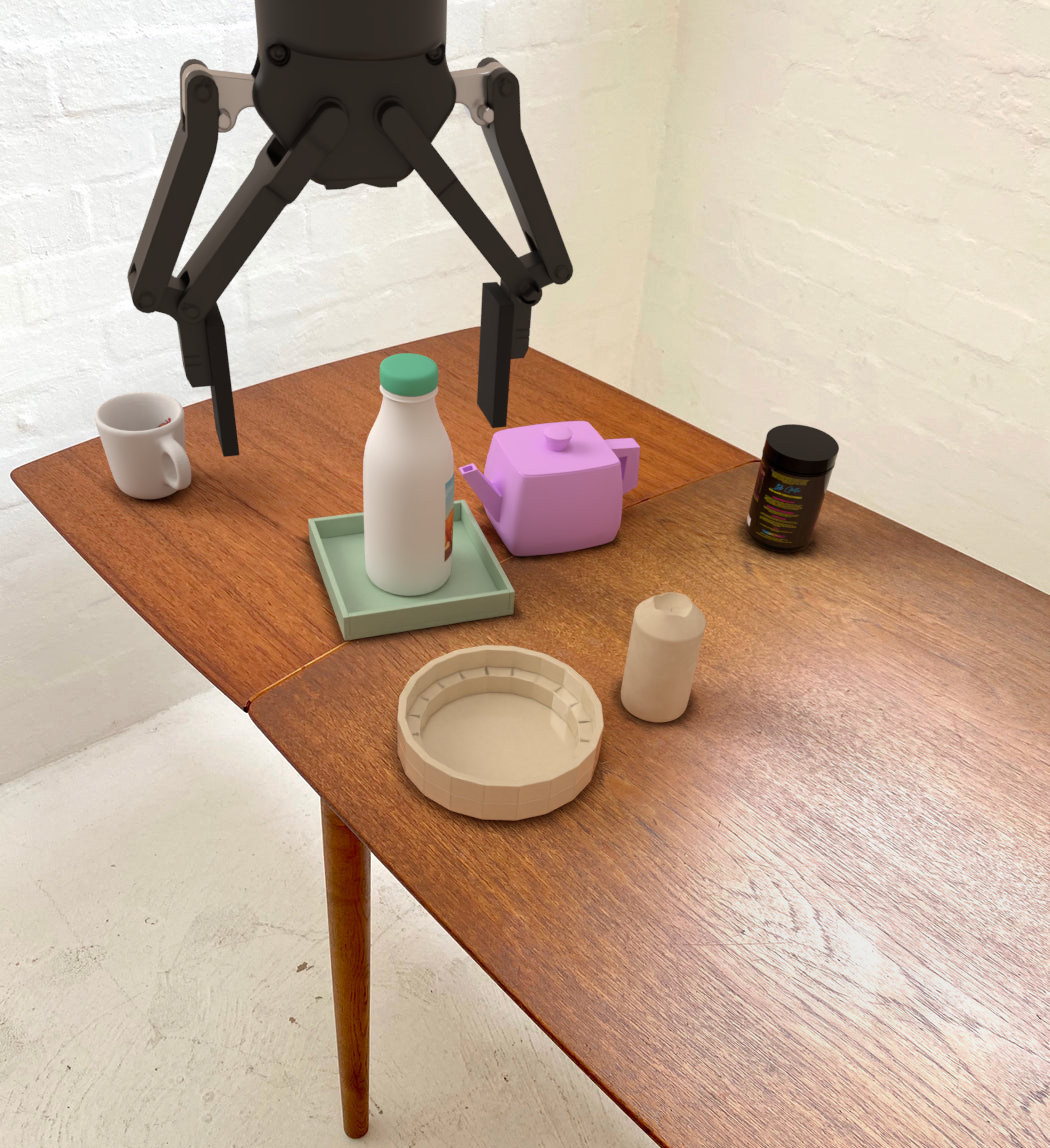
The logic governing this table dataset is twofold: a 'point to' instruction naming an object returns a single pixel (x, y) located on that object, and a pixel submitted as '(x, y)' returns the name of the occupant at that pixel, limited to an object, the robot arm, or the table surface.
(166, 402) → the cup
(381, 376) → the milk bottle
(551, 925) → the table surface
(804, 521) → the supplement container
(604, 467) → the teapot
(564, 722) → the bowl
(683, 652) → the candle
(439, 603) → the tray
